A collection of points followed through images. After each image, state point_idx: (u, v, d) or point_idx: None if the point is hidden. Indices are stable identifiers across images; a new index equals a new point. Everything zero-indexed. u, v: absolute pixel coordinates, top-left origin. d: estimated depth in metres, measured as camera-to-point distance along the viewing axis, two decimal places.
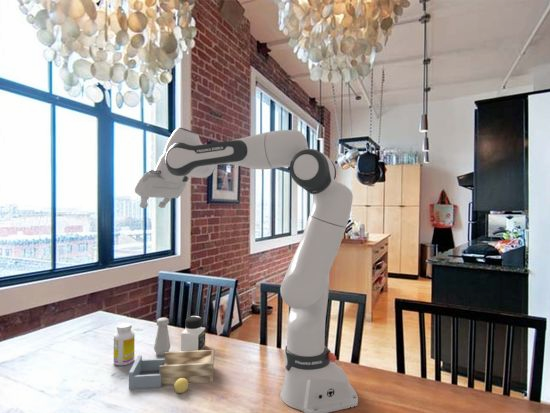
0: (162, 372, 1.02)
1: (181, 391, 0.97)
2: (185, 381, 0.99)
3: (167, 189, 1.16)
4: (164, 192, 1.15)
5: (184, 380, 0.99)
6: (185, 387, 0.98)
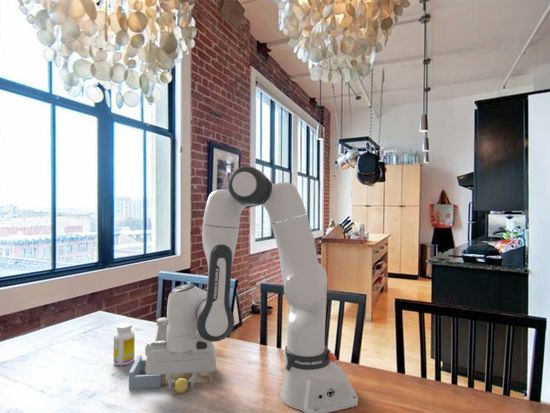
0: None
1: (181, 391, 0.97)
2: (185, 381, 0.99)
3: (185, 362, 0.97)
4: (181, 366, 0.97)
5: (184, 380, 0.99)
6: (185, 387, 0.98)
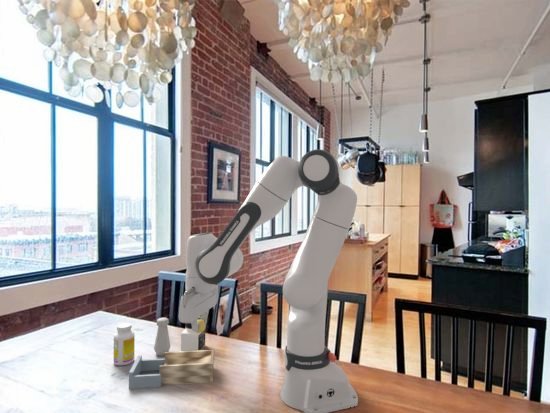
0: (162, 372, 1.02)
1: (204, 329, 1.06)
2: None
3: (206, 301, 1.06)
4: (205, 305, 1.05)
5: (202, 320, 1.06)
6: None
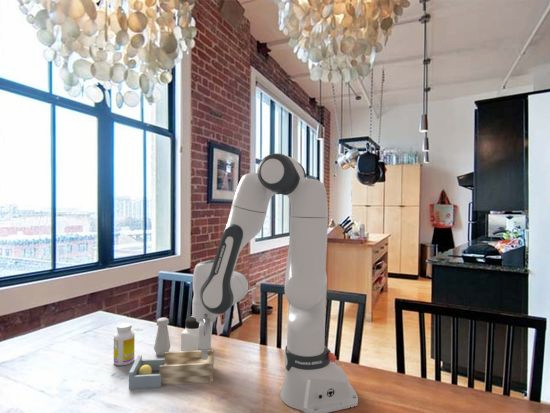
0: (162, 372, 1.02)
1: None
2: None
3: (211, 325, 1.10)
4: (211, 330, 1.09)
5: None
6: None
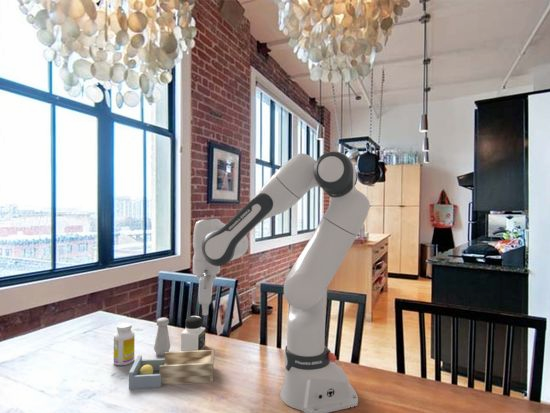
0: (162, 372, 1.02)
1: None
2: None
3: (211, 284, 1.10)
4: None
5: None
6: None
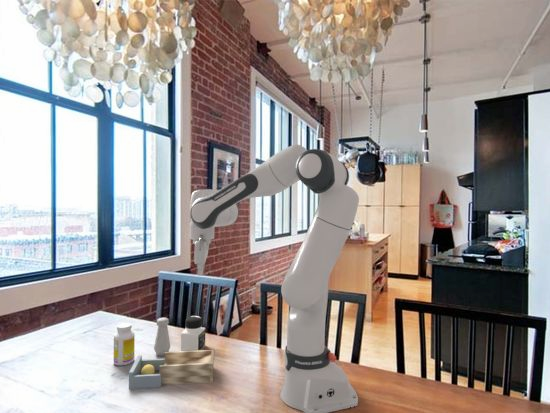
0: (162, 372, 1.02)
1: None
2: None
3: (206, 249, 1.22)
4: None
5: None
6: None
